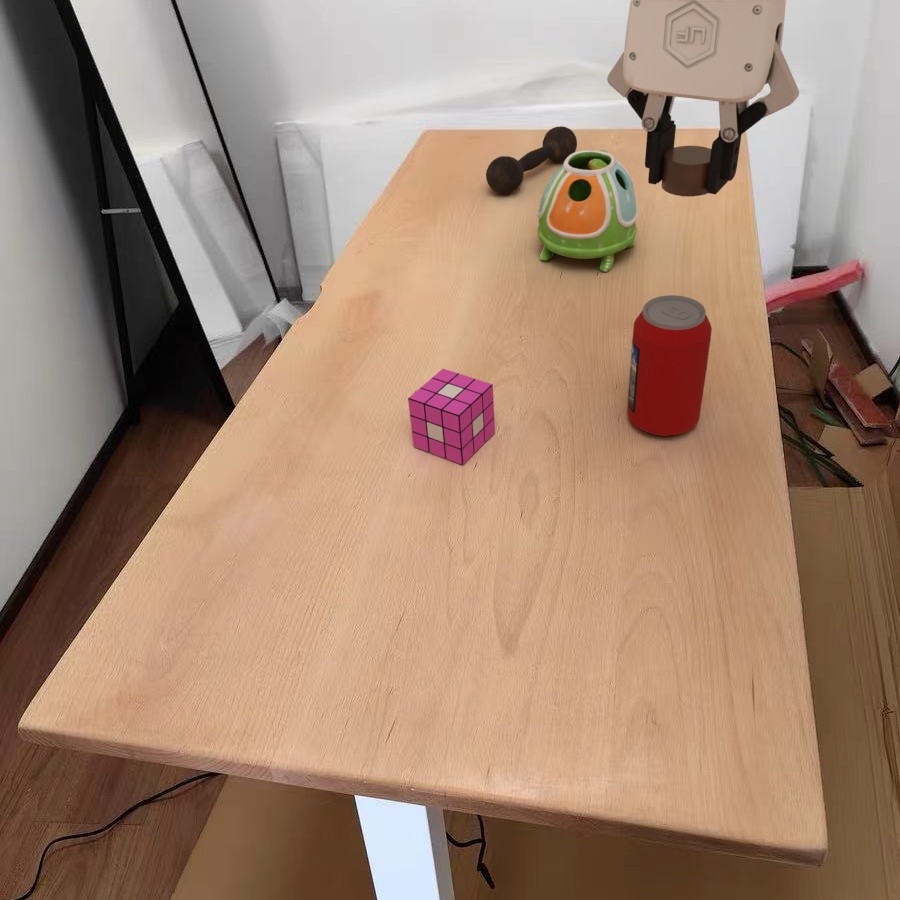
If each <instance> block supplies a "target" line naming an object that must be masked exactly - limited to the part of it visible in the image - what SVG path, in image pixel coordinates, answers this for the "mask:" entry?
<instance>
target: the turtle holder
mask: <svg viewBox="0 0 900 900" xmlns="http://www.w3.org/2000/svg"><path fill="white" fill-rule="evenodd" d="M638 213H639V208H638V201H637V198H636V193H635V186H634V181H633V178H632V176H631V174H630V173H629V171H628V170H627V169H626V167H625V166H624V165H623V164H622V163H621V162H620V161H619V160H618V159H617V158H616V156H615V155H614V154H613V153H611V152H608V151H607V150H606V149H600V150H592V149H585V150H584V149H583V150H578V151H575V152H574V153H572V154H571V155H569V156H568V157H567V158H566V160H565V161H564V162H563V164H562V165H561V166H560V167H559V168H558V169H557V170H556V172H554V174H553V175H552V176H551V177H550V179H548V182H547V184H546V185H545V187H544V190H543V192H542V195H541V199H540V202H539V208H538V210H537V213H536V215H537V218H538V227H537V235H538V239H539V241H540V242H541V243H542V245H543V247H542V250H541V252H540V254H539V259H540V260H541V261H543V262H544V261H545V262H546V261H549V260H550V259H553V256H554V254H556V255H559V256H562V257H565V258H573V259H581V260H587V259H597V258H598V259H599V258H601V261H600V264H599V271H600V272H602V273H607V272H609V271H610V270H612V269H613V267H614V262H615V254H616V253H619V252H621V251H623V250H625V249H626V248H628V249H631V248H633V247H634V246H635V245H636V241H635V237H636V235H637V232H638V231H637V229H638V227H637V224H636V222H637V218H638Z"/></svg>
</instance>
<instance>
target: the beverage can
mask: <svg viewBox="0 0 900 900" xmlns="http://www.w3.org/2000/svg"><path fill="white" fill-rule="evenodd" d="M706 312H707V311H706V308H705V306H704V305H703V304H702V303H701V302H700V301H698V300H696V299H694V298H691V297H688V296H684V295H660V296H657V297H654V298H652V299H649V300H648V301H646V302H645V304H644V305H643V307H642V310H641V312H640V313H639V314H638V315H637V317H636V318H635V320H634V321H633V330H632V339H631V354H630V366H629V379H628V380H629V381H628V392H627V395H628V396H627V417H628V419H629V421H630V422H631V423H632V425H634V426H635V427H636V428H638V429H639V430H641V431H644V432H646V433H648V434H651V435H655V436H659V437H660V436H661V437H662V436H663V437H667V436H670V437H671V436H676V435H681V434H684V433H687V432H689V431H690V430H692V429H694V427H695V426H696V425H697V424H698V423H699V420H700V416H701V410H702V409H701V408H702V403H703V396H704V389H705V382H706V376H707V367H708V362H709V354H710V346H711V339H712V331H713V329H712V325H711V322H710V320H709V317H708V316H707V313H706Z"/></svg>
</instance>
